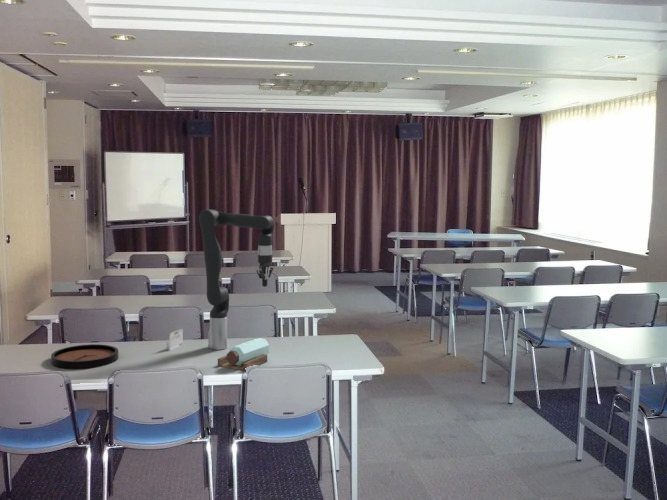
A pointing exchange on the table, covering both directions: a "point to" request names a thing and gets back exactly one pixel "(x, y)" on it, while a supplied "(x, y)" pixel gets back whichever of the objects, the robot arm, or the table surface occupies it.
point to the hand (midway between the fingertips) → (264, 286)
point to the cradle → (255, 361)
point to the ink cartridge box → (175, 340)
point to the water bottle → (247, 351)
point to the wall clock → (84, 356)
